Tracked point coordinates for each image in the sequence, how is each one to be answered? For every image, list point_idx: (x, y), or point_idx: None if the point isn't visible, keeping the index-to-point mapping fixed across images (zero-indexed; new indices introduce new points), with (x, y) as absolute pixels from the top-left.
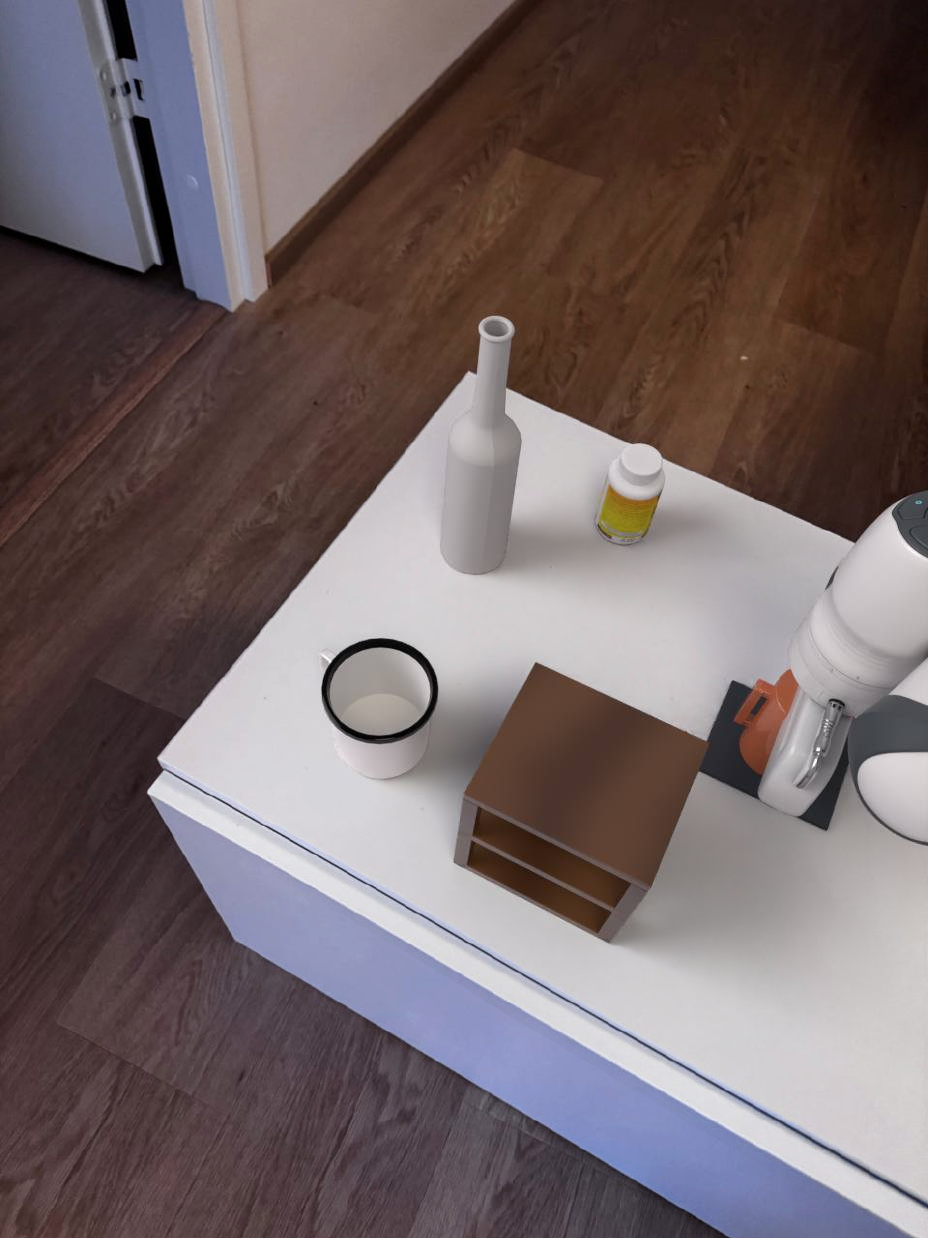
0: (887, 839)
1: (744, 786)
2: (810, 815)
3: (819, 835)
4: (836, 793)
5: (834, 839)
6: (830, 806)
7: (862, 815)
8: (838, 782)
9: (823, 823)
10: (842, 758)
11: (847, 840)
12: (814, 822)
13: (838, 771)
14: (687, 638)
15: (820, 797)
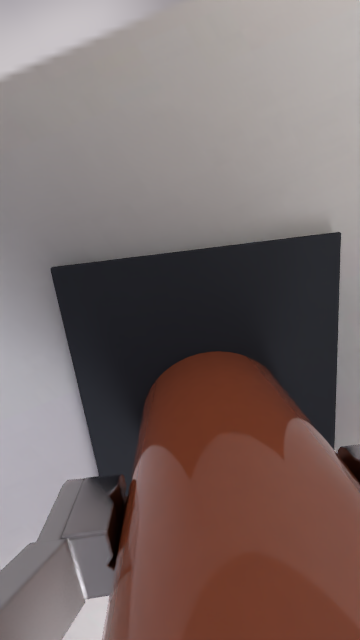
0: (276, 75)
1: (327, 426)
2: (326, 284)
3: (348, 242)
4: (238, 252)
5: (341, 206)
6: (280, 251)
7: (245, 167)
8: (206, 259)
9: (330, 248)
10: (136, 276)
11: (329, 176)
12: (338, 268)
13: (176, 271)
14: (84, 607)
15: (270, 282)
